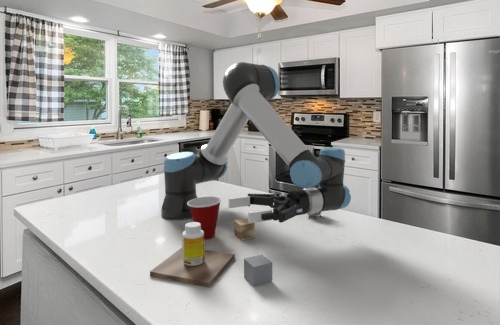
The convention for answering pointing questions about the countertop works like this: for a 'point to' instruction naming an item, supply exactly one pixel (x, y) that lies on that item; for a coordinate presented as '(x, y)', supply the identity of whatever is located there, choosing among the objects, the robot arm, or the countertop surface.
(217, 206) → the plastic cup
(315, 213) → the game die
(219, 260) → the walnut board
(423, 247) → the countertop surface
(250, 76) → the robot arm
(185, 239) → the supplement bottle
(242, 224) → the oak block
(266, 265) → the slate block
